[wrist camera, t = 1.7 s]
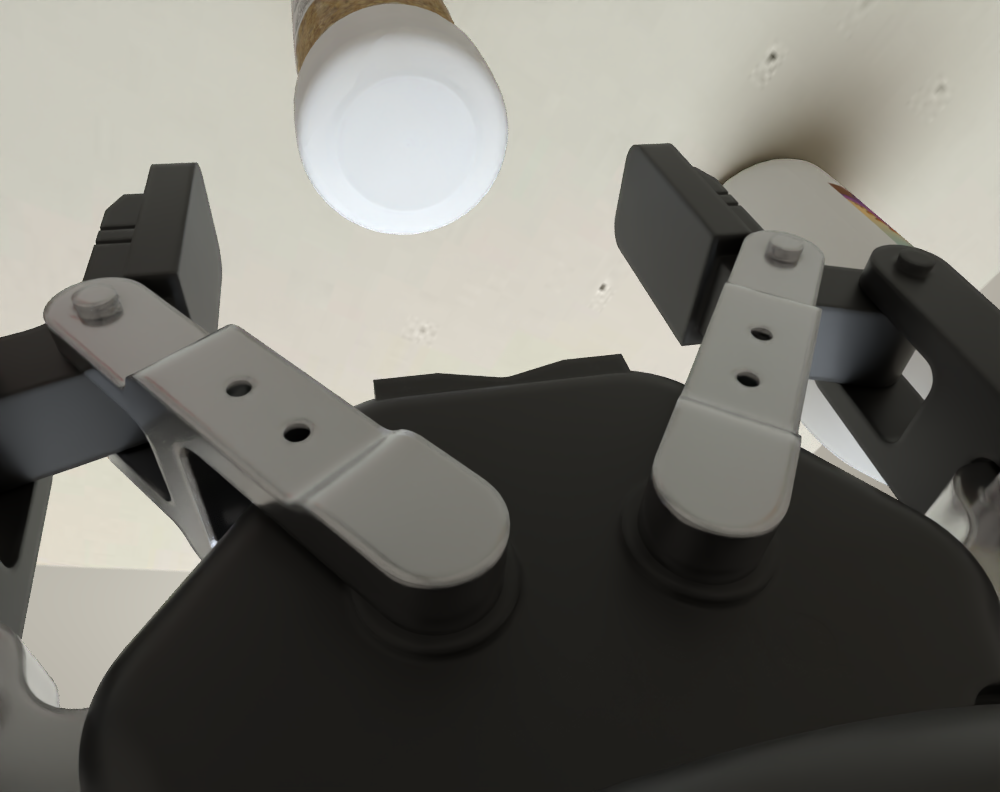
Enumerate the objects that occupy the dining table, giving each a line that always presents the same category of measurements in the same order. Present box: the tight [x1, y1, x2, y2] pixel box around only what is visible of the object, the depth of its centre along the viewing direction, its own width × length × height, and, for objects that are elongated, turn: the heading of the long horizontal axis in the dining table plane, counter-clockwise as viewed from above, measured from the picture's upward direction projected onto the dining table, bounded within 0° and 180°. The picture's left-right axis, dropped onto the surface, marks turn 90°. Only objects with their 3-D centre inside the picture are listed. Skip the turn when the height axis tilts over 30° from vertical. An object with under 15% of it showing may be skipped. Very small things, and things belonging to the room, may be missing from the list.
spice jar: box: [291, 0, 508, 235], centre depth 20 cm, size 5×5×14 cm
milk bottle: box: [722, 158, 933, 486], centre depth 29 cm, size 8×8×20 cm
